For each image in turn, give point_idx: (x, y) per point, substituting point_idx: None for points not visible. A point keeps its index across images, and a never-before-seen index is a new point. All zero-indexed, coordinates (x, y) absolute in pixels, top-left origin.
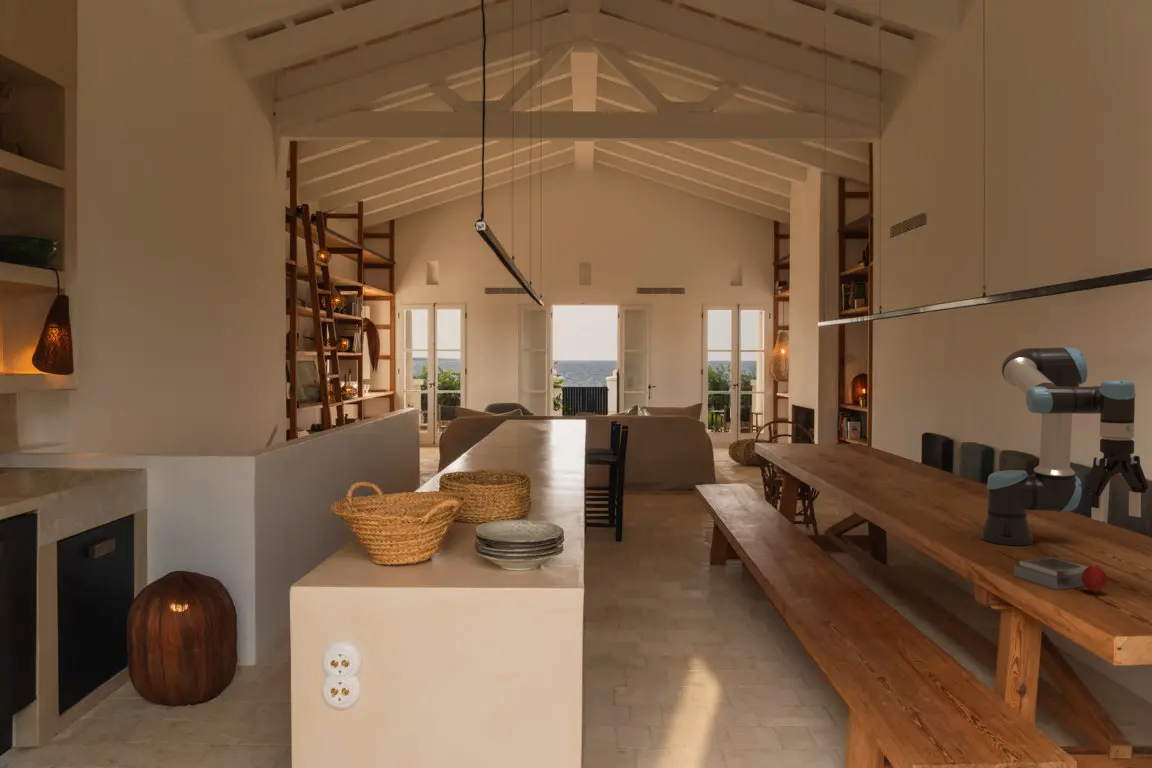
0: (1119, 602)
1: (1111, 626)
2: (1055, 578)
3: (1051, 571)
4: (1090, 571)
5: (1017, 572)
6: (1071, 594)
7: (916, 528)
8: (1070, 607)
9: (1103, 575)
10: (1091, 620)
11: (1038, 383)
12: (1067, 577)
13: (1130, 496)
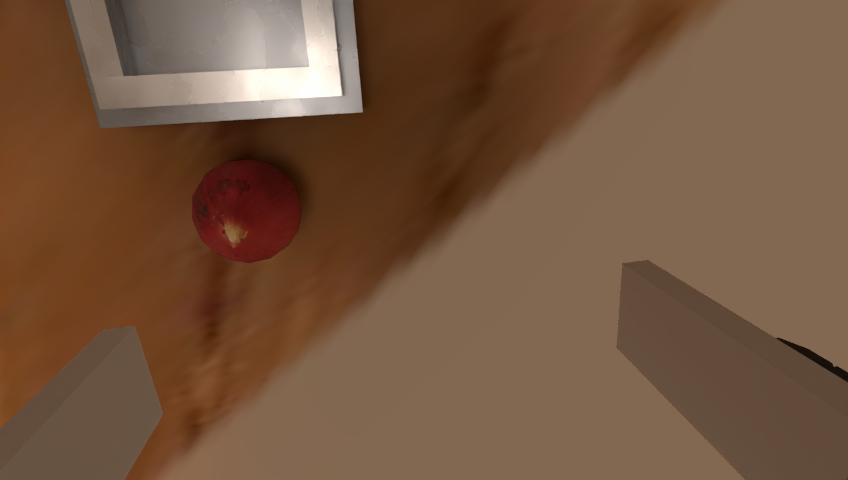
0: (262, 306)
1: None
2: (98, 117)
3: (93, 73)
4: (202, 233)
5: None
6: (149, 189)
7: None
8: (31, 315)
9: (250, 261)
10: None
11: None
12: (171, 122)
13: (778, 396)
